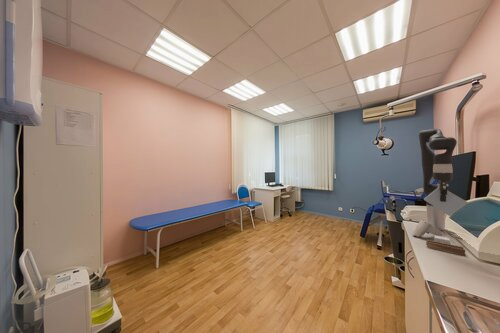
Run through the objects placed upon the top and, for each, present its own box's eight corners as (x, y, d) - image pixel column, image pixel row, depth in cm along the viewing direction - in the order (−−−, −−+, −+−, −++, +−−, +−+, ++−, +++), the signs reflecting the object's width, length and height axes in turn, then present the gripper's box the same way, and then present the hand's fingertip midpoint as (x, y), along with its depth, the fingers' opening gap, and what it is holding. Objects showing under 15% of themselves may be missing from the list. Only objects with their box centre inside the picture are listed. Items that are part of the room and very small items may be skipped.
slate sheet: (448, 215, 97) (423, 199, 104) (467, 202, 92) (439, 186, 99) (449, 215, 96) (423, 199, 103) (468, 202, 91) (440, 186, 98)
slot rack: (426, 244, 101) (426, 239, 101) (463, 252, 92) (463, 246, 92) (426, 247, 98) (426, 242, 98) (465, 255, 88) (465, 250, 88)
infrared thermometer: (446, 233, 109) (427, 221, 109) (434, 248, 110) (415, 236, 110) (438, 230, 114) (420, 218, 113) (427, 244, 115) (409, 232, 114)
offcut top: (434, 238, 105) (434, 235, 105) (448, 241, 101) (448, 238, 101) (435, 241, 101) (435, 237, 101) (450, 244, 97) (450, 240, 97)
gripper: (431, 171, 105) (432, 198, 105) (434, 172, 95) (434, 202, 95) (450, 171, 100) (450, 200, 100) (455, 172, 90) (455, 204, 90)
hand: (442, 201), depth 98 cm, fingers closed on slate sheet
